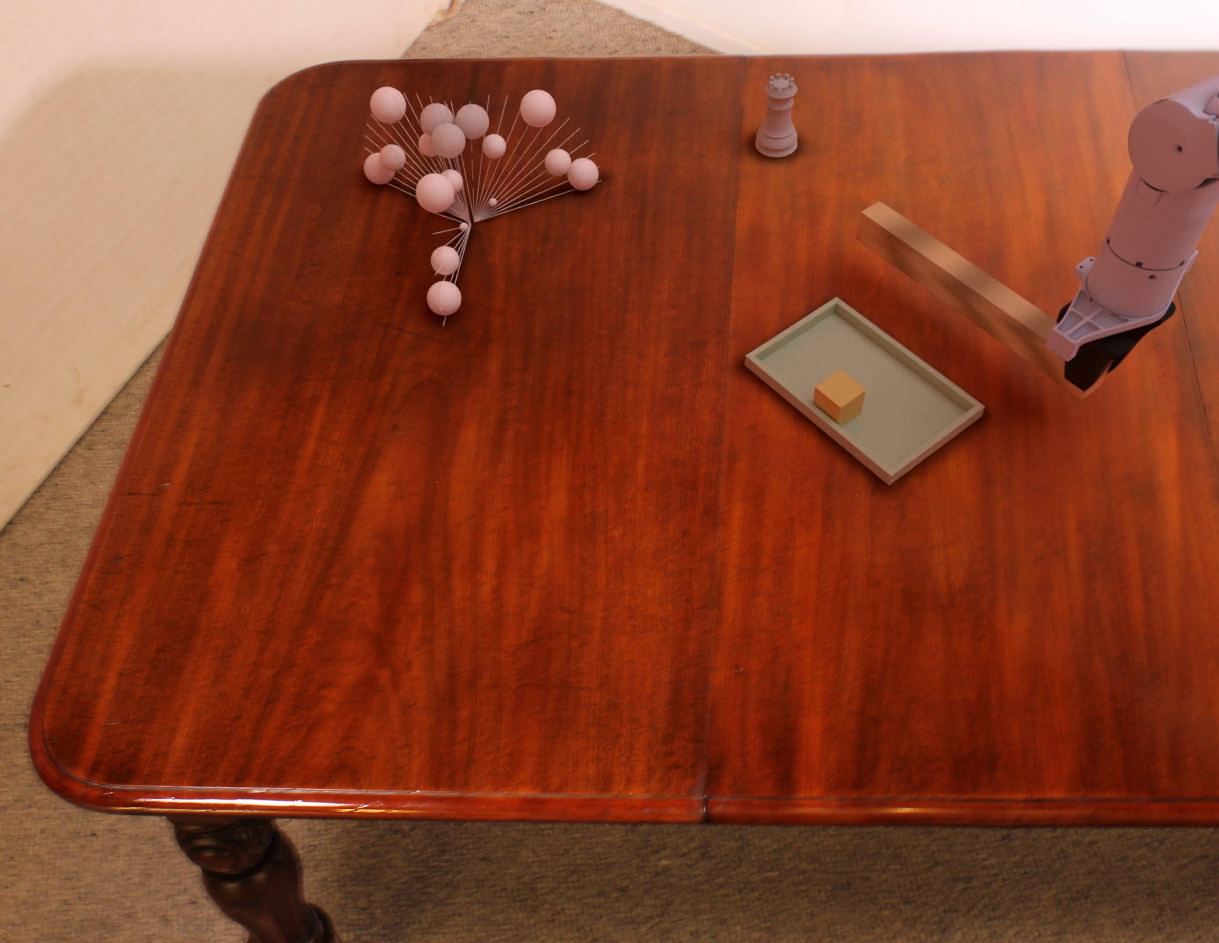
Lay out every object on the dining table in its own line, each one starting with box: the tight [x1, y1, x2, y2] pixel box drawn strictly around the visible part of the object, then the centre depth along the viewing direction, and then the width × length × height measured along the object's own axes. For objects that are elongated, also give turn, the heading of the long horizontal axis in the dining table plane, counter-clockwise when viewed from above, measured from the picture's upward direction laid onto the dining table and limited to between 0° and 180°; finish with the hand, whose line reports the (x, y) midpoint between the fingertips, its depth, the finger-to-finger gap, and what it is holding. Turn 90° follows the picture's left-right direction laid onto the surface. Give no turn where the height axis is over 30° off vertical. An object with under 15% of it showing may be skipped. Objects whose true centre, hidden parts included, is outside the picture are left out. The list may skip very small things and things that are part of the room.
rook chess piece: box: [754, 72, 798, 159], centre depth 111 cm, size 4×4×8 cm
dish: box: [744, 296, 986, 486], centre depth 92 cm, size 17×11×2 cm, turn 38°
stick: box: [855, 200, 1113, 401], centre depth 91 cm, size 25×2×3 cm, turn 38°
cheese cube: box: [812, 370, 866, 427], centre depth 90 cm, size 3×3×3 cm
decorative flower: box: [363, 86, 601, 327], centre depth 101 cm, size 25×22×14 cm
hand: (1088, 373), depth 86 cm, fingers closed on stick, 2 cm apart
